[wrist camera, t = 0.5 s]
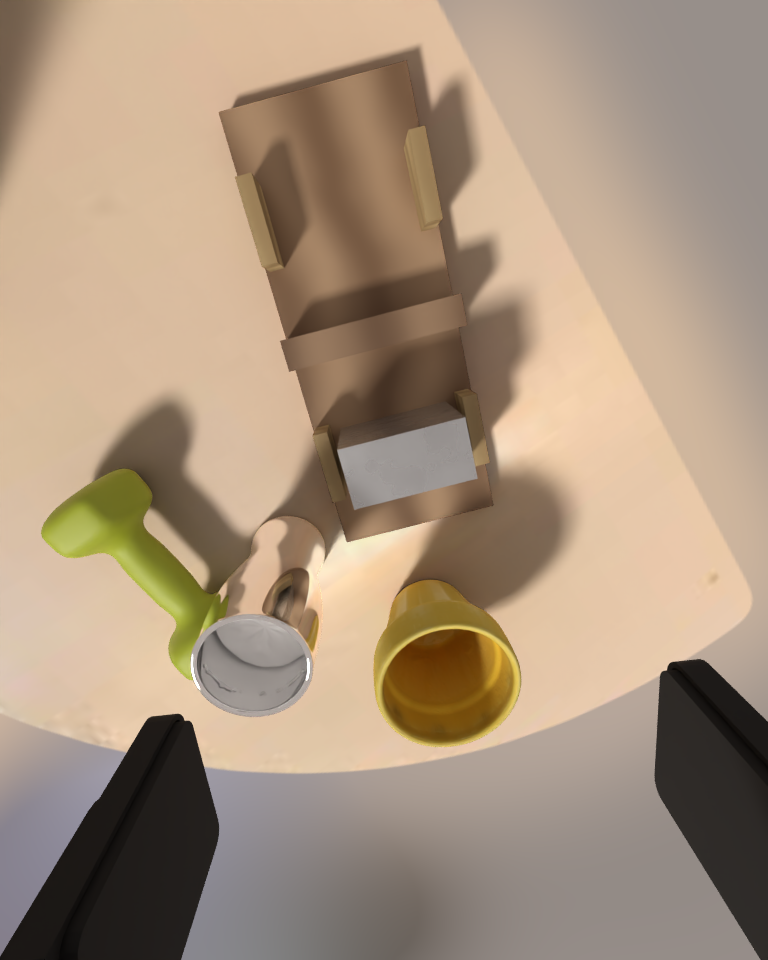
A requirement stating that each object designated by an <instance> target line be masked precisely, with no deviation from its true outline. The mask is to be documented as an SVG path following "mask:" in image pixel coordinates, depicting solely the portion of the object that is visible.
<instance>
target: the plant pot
mask: <svg viewBox="0 0 768 960" xmlns="http://www.w3.org/2000/svg"><path fill="white" fill-rule="evenodd" d="M374 687H375V696H376V700H377V704H378V707H379V710H380V712H381V714H382V716H383V717H384V719H385V720H386V722H387V723H388V724H389V725H390V726H391V728H393V729H394V730H395V731H396V732H397V733H398V734H400V735H401V736H403V737H405V738H406V739H408V740H410V741H412V742H415V743H418V744H421V745H425V746H431V747H451V746H458V745H463V744H467V743H470V742H473V741H475V740H477V739H480V738H482V737H483V736H485V735H487V734H489V733H490V732H492V731H493V730H494V729H496V728H497V727H498V726H499V725H500V724H501V723H502V722H503V721H504V720H505V719H506V718H507V716H508V715H509V714H510V713H511V711H512V709H513V708H514V706H515V703H516V701H517V699H518V696H519V692H520V688H521V671H520V666H519V662H518V659H517V657H516V655H515V653H514V651H513V648H512V646H511V644H510V643H509V641H508V639H507V637H506V635H505V634H504V632H503V630H502V629H501V627H500V626H499V624H498V623H497V622H496V621H495V620H494V619H493V618H492V617H491V616H490V615H489V614H488V613H486V612H485V611H484V610H482V609H480V608H478V607H477V606H474V605H472V604H470V603H469V602H468V601H467V600H466V599H465V598H464V597H463V596H462V595H461V593H460V592H459V591H458V590H457V589H456V588H454V587H453V586H451V585H450V584H448V583H445V582H443V581H439V580H422V581H418V582H415V583H413V584H410V585H409V586H407V587H406V588H404V589H403V590H402V591H401V592H400V593H399V594H398V595H397V596H396V598H395V600H394V602H393V604H392V607H391V611H390V615H389V620H388V625H387V628H386V629H385V631H384V632H383V634H382V635H381V637H380V639H379V641H378V644H377V647H376V650H375V655H374Z"/></svg>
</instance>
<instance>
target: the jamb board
mask: <svg viewBox="0 0 768 960" xmlns="http://www.w3.org/2000/svg"><path fill="white" fill-rule="evenodd" d="M219 115H220V119H221V122H222V125H223V129H224V132H225V135H226V139H227V142H228V145H229V149H230V152H231V156H232V159H233V162H234V166H235V169H236V172H237V176H236V177H235V179H236V182H237V185H238V189H239V192H240V195H241V199H242V202H243V205H244V209H245V212H246V215H247V219H248V222H249V225H250V229H251V232H252V235H253V239H254V242H255V245H256V249H257V252H258V255H259V259H260V262H261V265H262V267H263V268H265V269H266V273H267V276H268V279H269V283H270V286H271V290H272V293H273V296H274V300H275V303H276V306H277V310H278V313H279V316H280V320H281V323H282V326H283V330H284V333H285V336H286V340H282V341H280V342H281V345H282V349H283V352H284V355H285V359H286V362H287V365H288V369H289V372H290V371H294V370H296V373H297V377H298V380H299V383H300V387H301V390H302V393H303V397H304V400H305V403H306V407H307V410H308V414H309V417H310V420H311V424H312V427H313V430H314V434H313V439H314V442H315V445H316V449H317V452H318V455H319V459H320V462H321V465H322V469H323V472H324V475H325V479H326V482H327V485H328V489H329V492H330V495H331V499H332V502H333V503H334V502H335V504H336V507H337V511H338V514H339V517H340V521H341V524H342V527H343V531H344V534H345V538H346V541H347V542H350V541H354V540H358V539H362V538H366V537H370V536H374V535H378V534H382V533H386V532H390V531H394V530H398V529H402V528H406V527H410V526H413V525H417V524H421V523H425V522H429V521H433V520H437V519H441V518H445V517H449V516H453V515H457V514H461V513H465V512H469V511H473V510H477V509H481V508H485V507H489V506H493V501H492V496H491V491H490V485H489V480H488V475H487V470H486V465H485V464H487V463H490V461H489V456H488V450H487V445H486V440H485V435H484V430H483V424H482V419H481V414H480V409H479V404H478V398H477V394H476V393H474V392H472V391H471V388H470V383H469V378H468V373H467V367H466V362H465V357H464V352H463V347H462V342H461V337H460V332H459V327H462V326H466V325H467V321H466V315H465V310H464V305H463V300H462V294H457V295H453V296H452V291H451V285H450V280H449V275H448V270H447V265H446V260H445V255H444V250H443V244H442V239H441V234H440V229H439V223H440V221H441V220H442V219H443V216H442V211H441V206H440V200H439V195H438V190H437V185H436V180H435V174H434V169H433V164H432V159H431V154H430V148H429V143H428V138H427V133H426V128H425V125H424V126H421V127H419V121H418V116H417V111H416V106H415V101H414V96H413V91H412V85H411V80H410V75H409V70H408V65H407V60H406V61H402V62H399V63H395V64H391V65H388V66H384V67H381V68H377V69H373V70H370V71H366V72H362V73H359V74H355V75H351V76H348V77H344V78H341V79H337V80H333V81H330V82H326V83H322V84H319V85H315V86H311V87H308V88H304V89H301V90H297V91H293V92H290V93H286V94H282V95H279V96H275V97H271V98H268V99H264V100H261V101H257V102H253V103H250V104H246V105H242V106H239V107H235V108H231V109H228V110H224V111H221V112H219ZM445 401H446V402H447V403H448V404H449V405H451V406H452V407H453V408H454V409H456V410H457V411H458V412H459V413H461V414H462V415H463V416H464V417H465V418H466V423H467V428H468V433H469V438H470V443H471V448H472V453H473V458H474V463H475V468H476V473H477V478H478V479H474V480H470V481H466V482H462V483H458V484H454V485H450V486H446V487H442V488H438V489H434V490H430V491H427V492H423V493H419V494H415V495H411V496H407V497H403V498H399V499H395V500H391V501H387V502H383V503H379V504H375V505H371V506H367V507H363V508H360V509H356V510H354V507H353V504H352V500H351V497H350V493H349V490H348V486H347V483H346V479H345V476H344V472H343V469H342V465H341V462H340V458H339V455H338V451H337V448H338V442H339V436H340V430H341V428H344V427H348V426H352V425H355V424H359V423H363V422H367V421H371V420H375V419H379V418H383V417H386V416H390V415H394V414H398V413H402V412H406V411H410V410H414V409H418V408H421V407H425V406H429V405H433V404H437V403H441V402H445Z"/></svg>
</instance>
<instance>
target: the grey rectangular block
mask: <svg viewBox="0 0 768 960" xmlns="http://www.w3.org/2000/svg"><path fill="white" fill-rule="evenodd" d="M337 451H338V455H339V458H340V462H341V465H342V469H343V472H344V476H345V479H346V483H347V486H348V490H349V493H350V497H351V500H352V504H353V507H354V510H356V509H360V508H363V507H367V506H371V505H375V504H379V503H383V502H387V501H391V500H395V499H399V498H403V497H407V496H411V495H415V494H419V493H423V492H427V491H430V490H434V489H438V488H442V487H446V486H450V485H454V484H458V483H462V482H466V481H470V480H474V479H478V478H477V473H476V468H475V463H474V458H473V453H472V448H471V443H470V438H469V433H468V428H467V423H466V418H465V417H464V416H463V415H462V414H461V413H459V412H458V411H457V410H456V409H454V408H453V407H452V406H451V405H449V404H448V403H447V402H446V401H445V402H441V403H437V404H433V405H429V406H425V407H421V408H418V409H414V410H410V411H406V412H402V413H398V414H394V415H390V416H386V417H383V418H379V419H375V420H371V421H367V422H363V423H359V424H355V425H352V426H348V427H344V428H341V430H340V436H339V442H338V448H337Z"/></svg>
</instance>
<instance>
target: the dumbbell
mask: <svg viewBox="0 0 768 960" xmlns="http://www.w3.org/2000/svg"><path fill="white" fill-rule="evenodd" d="M151 502H152V493H151V490H150V488H149V487H148V485H147V484H146V483H145V482H144V481H143V480H142V479H141V477H140V476H139V475H138V474H137V473H136V472H134V471H133V470H131V469H117V470H115V471H112V472H110V473H108V474H106V475H104V476H102V477H101V478H99V479H97V480H95V481H93V482H92V483H90V484H89V485H87V486H85V487H84V488H83V489H81V490H80V491H78V492H77V493H75V494H74V495H73V496H71V497H70V498H69V499H67V500H66V501H65V502H63V503H62V504H61V505H60V506H58V507H57V508H56V509H55V510H54V511H53V512H52V513H51V515H50V516H49V517H48V518H47V520H46V521H45V523H44V525H43V527H42V531H41V534H42V537H43V539H44V540H45V541H46V542H47V543H48V544H49V545H50V546H51V547H52V548H53V549H54V550H55V551H56V552H57V553H59V554H60V555H62V556H64V557H67V558H80V557H85V556H89V555H93V554H97V553H106V554H109V555H111V556H113V557H114V558H115V559H116V560H117V561H118V563H119V564H120V565H121V566H122V568H123V569H124V570H125V572H126V573H127V574H128V575H129V576H130V577H131V578H132V579H133V580H134V581H135V582H136V583H137V584H138V585H139V586H140V587H141V588H142V589H143V590H144V591H145V592H146V593H147V594H148V595H149V596H150V597H151V598H152V599H153V600H154V601H155V602H156V603H157V604H158V605H159V606H160V607H162V608H163V609H164V610H165V611H167V612H168V613H169V614H170V615H172V616H173V618H174V619H175V621H176V624H177V626H176V629H175V631H174V633H173V635H172V637H171V639H170V642H169V647H168V649H169V656H170V658H171V661H172V663H173V664H174V666H175V667H176V668H177V669H178V670H179V671H180V672H181V673H182V674H183V675H184V676H185V677H186V678H187V679H189V680H193V677H192V674H191V669H190V659H191V653H192V650H193V647H194V645H195V643H196V641H197V639H198V636H199V633H200V630H201V628H202V625H203V622H204V620H205V617H206V615H207V613H208V611H209V608H210V606H211V604H212V602H213V600H214V598H215V597H216V595H217V594H218V592H219V591H218V592H216V593H214V594H209V593H207V592H205V591H204V590H203V589H202V588H201V587H200V585H199V584H198V583H197V581H196V580H195V579H194V577H193V576H192V575H191V574H190V573H189V572H188V570H187V569H186V568H185V567H184V566H183V565H182V564H181V563H180V562H179V561H178V559H177V558H176V557H175V556H174V555H173V554H172V553H171V552H170V551H169V550H168V549H167V548H166V547H165V546H164V545H163V544H161V543H160V542H159V541H158V540H157V539H156V538H154V537H153V536H152V535H151V534H150V533H149V532H148V531H147V530H146V529H145V527H144V524H143V519H144V516H145V514H146V512H147V510H148V508H149V506H150V504H151Z"/></svg>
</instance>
